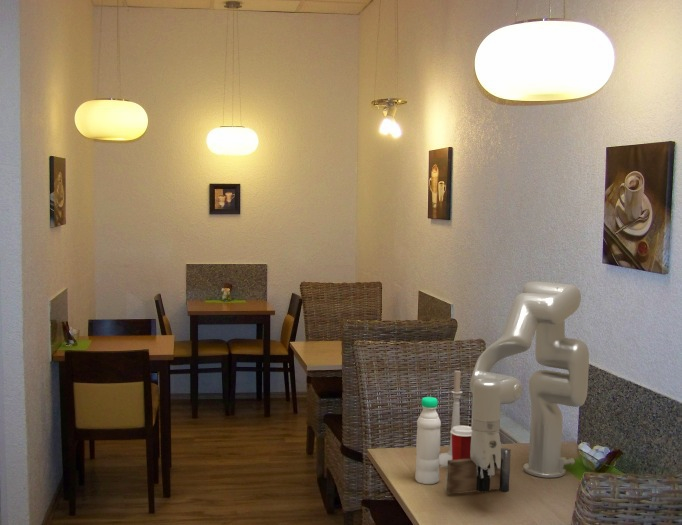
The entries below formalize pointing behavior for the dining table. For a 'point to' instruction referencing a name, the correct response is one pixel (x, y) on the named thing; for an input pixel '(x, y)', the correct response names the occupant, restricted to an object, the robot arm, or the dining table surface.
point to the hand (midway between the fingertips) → (482, 490)
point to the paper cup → (461, 442)
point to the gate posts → (503, 470)
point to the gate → (466, 476)
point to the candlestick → (453, 417)
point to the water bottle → (428, 443)
